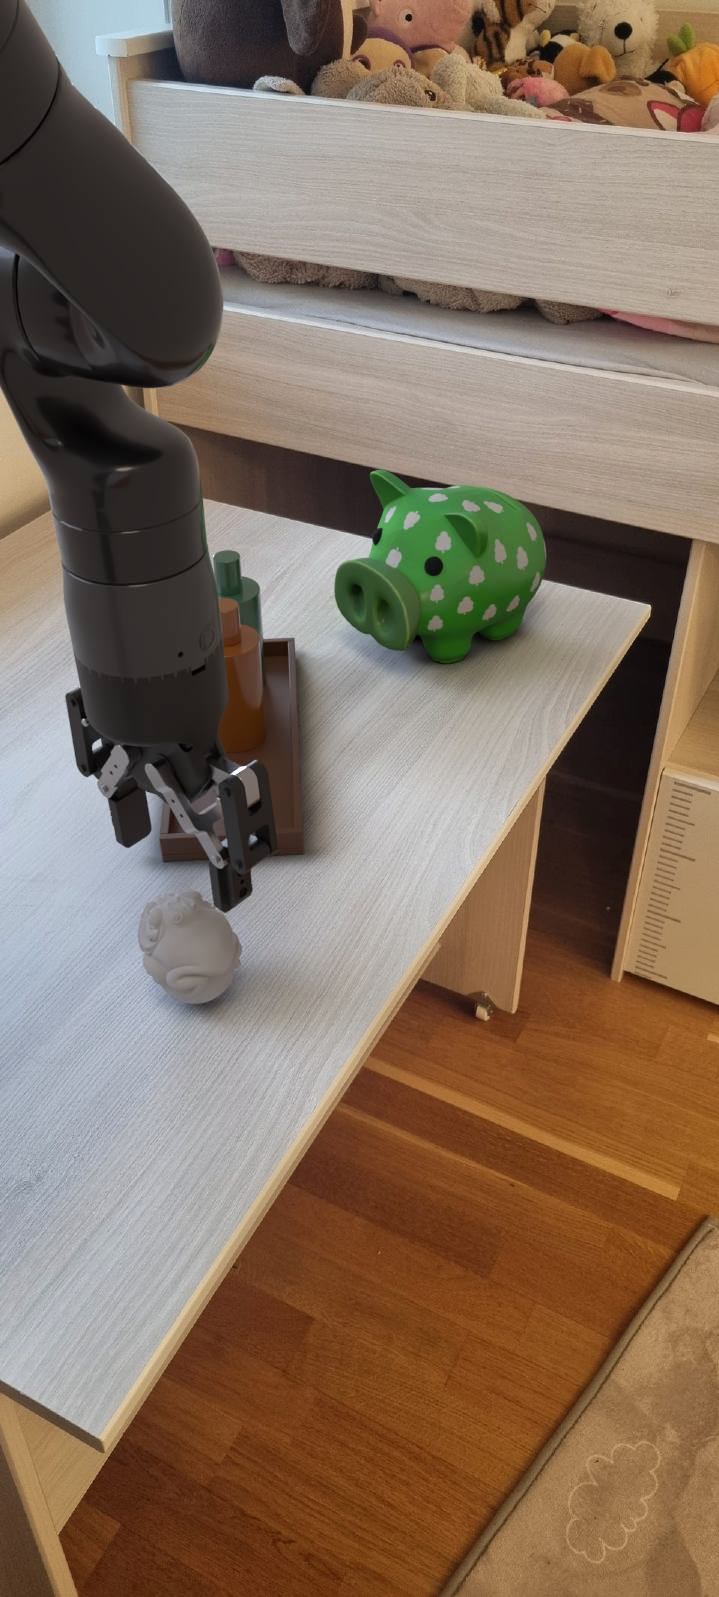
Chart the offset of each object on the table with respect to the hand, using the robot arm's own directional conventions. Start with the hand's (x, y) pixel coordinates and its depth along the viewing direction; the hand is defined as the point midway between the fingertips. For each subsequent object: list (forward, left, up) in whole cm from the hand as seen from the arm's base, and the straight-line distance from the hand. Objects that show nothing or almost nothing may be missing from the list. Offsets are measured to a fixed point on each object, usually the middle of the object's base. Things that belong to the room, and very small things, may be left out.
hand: (182, 870), depth 70 cm
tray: (+20, +17, -10) cm, 28 cm away
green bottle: (+26, +23, -9) cm, 36 cm away
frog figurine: (0, 0, -10) cm, 10 cm away
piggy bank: (+45, +15, -10) cm, 48 cm away
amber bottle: (+20, +18, -9) cm, 29 cm away
